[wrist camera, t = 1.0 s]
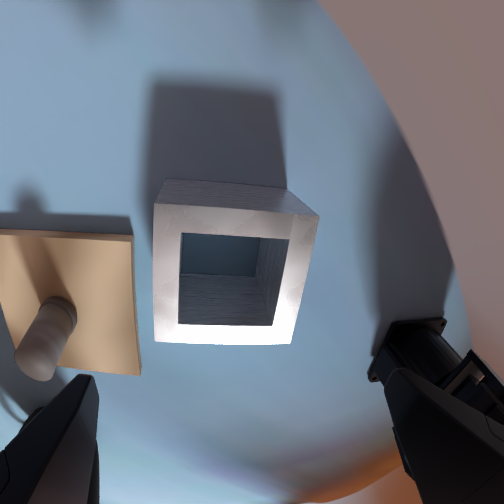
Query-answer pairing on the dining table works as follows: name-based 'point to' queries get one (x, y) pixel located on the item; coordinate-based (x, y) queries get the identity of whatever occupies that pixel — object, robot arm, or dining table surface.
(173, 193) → the collar
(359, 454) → the dining table surface
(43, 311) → the shaft block
